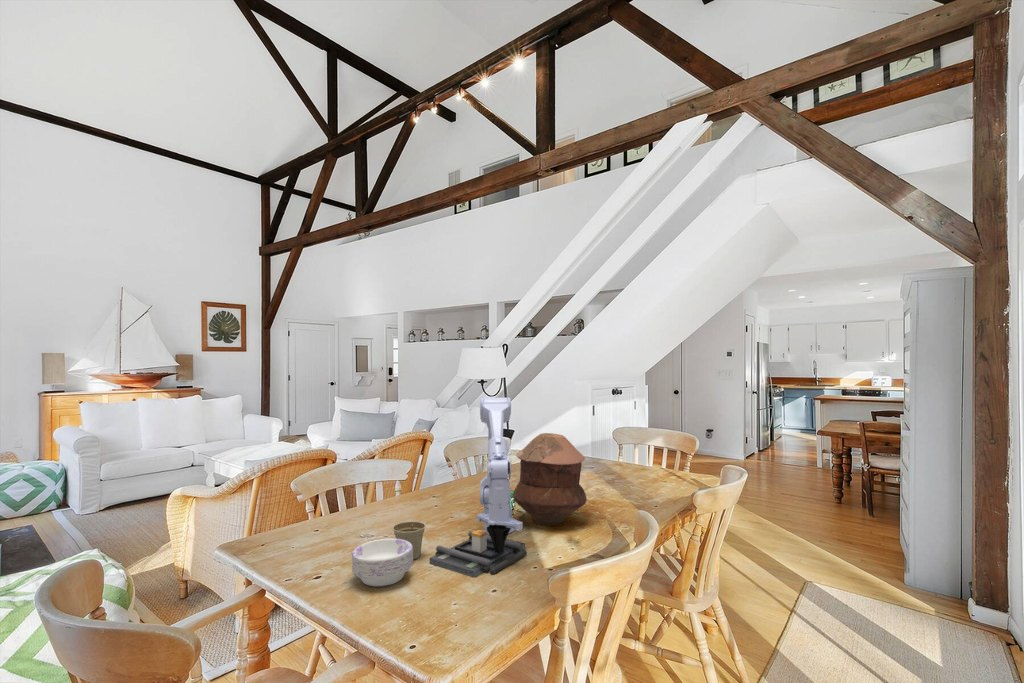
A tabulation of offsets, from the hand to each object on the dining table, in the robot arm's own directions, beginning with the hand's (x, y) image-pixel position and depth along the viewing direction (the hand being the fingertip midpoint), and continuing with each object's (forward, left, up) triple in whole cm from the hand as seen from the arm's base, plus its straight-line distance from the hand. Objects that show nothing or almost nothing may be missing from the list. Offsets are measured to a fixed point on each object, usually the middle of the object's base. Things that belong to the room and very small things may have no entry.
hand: (499, 551), depth 141 cm
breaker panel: (0, -7, -3) cm, 7 cm away
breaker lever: (0, -7, -1) cm, 7 cm away
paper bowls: (+26, -18, -3) cm, 32 cm away
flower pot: (+12, -23, -3) cm, 26 cm away
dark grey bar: (-8, -7, -3) cm, 11 cm away
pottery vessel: (-38, -6, -3) cm, 39 cm away
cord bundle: (0, -6, -3) cm, 7 cm away
